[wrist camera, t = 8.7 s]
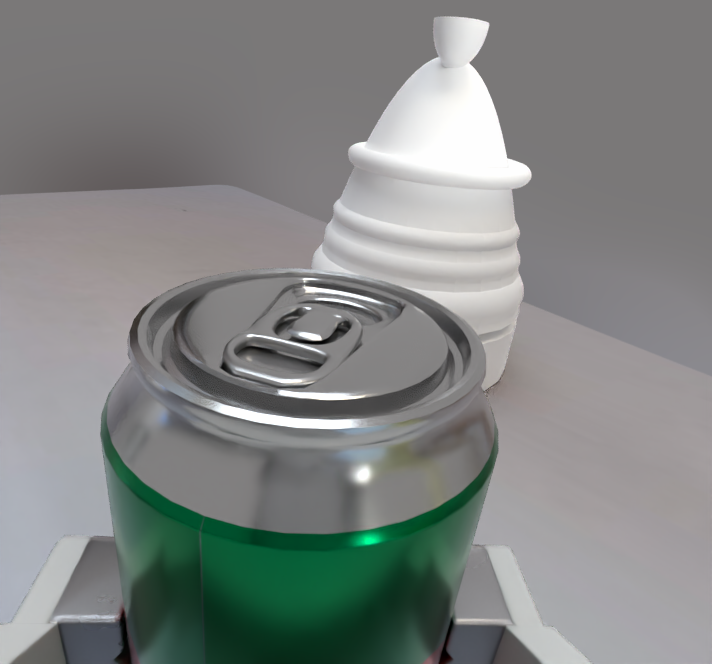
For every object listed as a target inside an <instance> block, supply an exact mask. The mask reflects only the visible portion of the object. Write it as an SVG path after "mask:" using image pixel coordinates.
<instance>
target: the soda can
mask: <svg viewBox="0 0 712 664" xmlns="http://www.w3.org/2000/svg"><path fill="white" fill-rule="evenodd" d="M128 356H129V359H130V363H129V365H128V366H127V368H126V369H125V371H124V372H123V374H122V375H121V377H120V378H119V380H118V381H117V383H116V384H115V386H114V387H113V389H112V390H111V392H110V393H109V395H108V398H107V400H106V403H105V406H104V409H103V412H102V417H101V433H100V436H101V443H102V451H103V458H104V465H105V473H106V480H107V488H108V495H109V502H110V510H111V517H112V525H113V532H114V539H115V547H116V554H117V562H118V569H119V576H120V584H121V591H122V598H123V606H124V613H125V621H126V628H127V635H128V643H129V650H130V658H131V664H438V663H439V659H440V656H441V652H442V649H443V645H444V642H445V638H446V635H447V631H448V628H449V624H450V621H451V617H452V613H453V610H454V606H455V603H456V599H457V596H458V592H459V589H460V585H461V582H462V578H463V575H464V571H465V568H466V564H467V561H468V557H469V553H470V550H471V546H472V543H473V539H474V536H475V532H476V529H477V525H478V522H479V518H480V515H481V511H482V508H483V504H484V501H485V497H486V493H487V490H488V486H489V483H490V479H491V476H492V472H493V469H494V465H495V461H496V458H497V454H498V429H497V426H496V422H495V418H494V415H493V412H492V410H491V407H490V405H489V403H488V401H487V398H486V396H485V394H484V392H483V389H482V387H481V386H482V383H483V381H484V378H485V376H486V354H485V350H484V347H483V344H482V341H481V340H480V338H479V337H478V335H477V334H476V332H475V330H474V329H473V328H472V327H471V326H470V325H469V324H468V323H467V322H466V321H465V320H464V319H462V318H461V317H460V316H459V315H457V314H456V313H455V312H453V311H452V310H450V309H449V308H447V307H445V306H444V305H442V304H440V303H439V302H437V301H435V300H433V299H431V298H428V297H426V296H424V295H422V294H420V293H417V292H415V291H412V290H409V289H407V288H404V287H401V286H398V285H395V284H391V283H388V282H385V281H381V280H377V279H373V278H369V277H365V276H359V275H354V274H348V273H342V272H335V271H327V270H315V269H298V268H273V269H255V270H244V271H237V272H230V273H223V274H218V275H214V276H209V277H205V278H201V279H198V280H195V281H191V282H188V283H185V284H183V285H180V286H178V287H175V288H173V289H171V290H168V291H167V292H165V293H163V294H162V295H160V296H158V297H156V298H155V299H153V300H152V301H151V302H150V303H149V304H147V305H146V306H145V307H144V308H143V309H142V310H141V311H140V312H139V314H138V315H137V316H136V318H135V319H134V321H133V324H132V327H131V329H130V332H129V336H128Z"/></svg>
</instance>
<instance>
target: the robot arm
mask: <svg viewBox="0 0 712 664" xmlns="http://www.w3.org/2000/svg"><path fill="white" fill-rule="evenodd" d="M0 664H131V658H130V650H129V643H128V635H127V628H126V621H125V613H124V606H123V598H122V591H121V584H120V576H119V569H118V562H117V554H116V547H115V539H114V537H106V536H77V535H64V536H63V537H62V538H61V539H60V540H59V541H58V542H57V543H56V544H55V546H54V547H53V549H52V551H51V553H50V554H49V556H48V558H47V560H46V561H45V563H44V565H43V567H42V568H41V570H40V572H39V574H38V575H37V577H36V579H35V581H34V582H33V584H32V586H31V588H30V589H29V591H28V593H27V595H26V596H25V598H24V600H23V602H22V603H21V605H20V607H19V609H18V610H17V612H16V614H15V616H14V617H13V619H12V621H11V622H10V623H0ZM438 664H593V663H592V662H591V661H590V660H589V659H588V658H587V657H586V656H584V655H583V654H582V653H581V652H580V651H579V650H578V649H577V648H576V647H575V646H574V645H572V644H571V643H570V642H569V641H568V640H567V639H566V638H565V637H564V636H563V635H562V634H560V633H559V632H558V631H557V630H556V629H555V628H554V627H553V626H544V624H543V621H542V619H541V617H540V614H539V612H538V610H537V607H536V605H535V603H534V600H533V598H532V596H531V593H530V591H529V589H528V586H527V584H526V582H525V579H524V577H523V574H522V572H521V570H520V567H519V565H518V563H517V560H516V558H515V556H514V553H513V551H512V549H511V548H510V547H509V546H503V545H472V546H471V550H470V553H469V557H468V561H467V564H466V568H465V571H464V575H463V578H462V582H461V585H460V589H459V592H458V596H457V599H456V603H455V606H454V610H453V613H452V617H451V621H450V624H449V628H448V631H447V635H446V638H445V642H444V645H443V649H442V652H441V656H440V659H439V663H438Z"/></svg>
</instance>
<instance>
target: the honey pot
mask: <svg viewBox="0 0 712 664" xmlns="http://www.w3.org/2000/svg"><path fill="white" fill-rule="evenodd" d="M488 27H489V23H488V22H485V21H481V20H477V19H471V18H462V17H435V18H434V25H433V37H434V44H435V48H436V51H437V54H438V56H439V57H438V58H435V59H433V60H431V61H429V62H427V63H426V64H424V65H423V66H422V67H421V68H419V69H418V70H417V71H416V72H415V73H414V74H413V75H412V76H411V77H410V78H409V79H408V80H407V81H406V82H405V84H404V85H403V86H402V87H401V88H400V90H399V91H398V92H397V94H396V95H395V97H394V98H393V99H392V101H391V102H390V103H389V105H388V107H387V108H386V110H385V111H384V113H383V114H382V116H381V118H380V120H379V121H378V123H377V124H376V126H375V128H374V130H373V131H372V133H371V135H370V137H369V139H368V141H367V142H360V143H356V144H354V145H352V146H351V147H350V148H349V151H348V157H349V159H350V161H351V163H352V164H353V165H354V166H355V167H354V169H353V171H352V173H351V175H350V178H349V180H348V182H347V184H346V187H345V189H344V191H343V194H342V196H341V198H340V199H338V200H337V201H336V202H335V203H334V206H333V211H334V215H333V218H332V220H331V222H330V223H329V224H328V225H327V226H326V229H325V232H324V237H325V238H324V241H323V243H322V244H321V245H320V247H319V248H318V249H317V250H316V251H315V253H314V255H313V259H312V262H311V269H315V270H327V271H335V272H342V273H348V274H354V275H359V276H365V277H369V278H373V279H377V280H381V281H385V282H388V283H391V284H395V285H398V286H401V287H404V288H407V289H409V290H412V291H415V292H417V293H420V294H422V295H424V296H426V297H428V298H431V299H433V300H435V301H437V302H439V303H440V304H442V305H444V306H445V307H447V308H449V309H450V310H452V311H453V312H455V313H456V314H457V315H459V316H460V317H461V318H462V319H464V320H465V321H466V322H467V323H468V324H469V325H470V326H471V327H472V328H473V329H474V330H475V332H476V334H477V335H478V337H479V338H480V340H481V341H482V344H483V347H484V350H485V354H486V376H485V378H484V381H483V383H482V386H481V387H482V389H483V391H485V390H487V389H488V388H489V387H491V386H492V385H494V384H495V383H496V382H498V381H499V379H500V377H501V375H502V373H503V371H504V368H505V365H506V361H507V357H508V353H509V349H510V346H511V342H512V338H513V334H514V331H515V327H516V323H517V322H516V318H517V316H518V314H519V305H520V303H521V301H522V299H523V292H524V286H523V283H522V280H521V277H520V275H519V272H518V267H519V265H520V255H519V252H518V249H517V240H518V238H519V236H520V231H519V228H518V226H517V223H516V222H515V216H514V206H513V197H512V189H516V188H520V187H522V186H524V185H525V184H527V183H528V182H529V181H530V179H531V171H530V169H529V168H528V167H527V166H526V165H525V164H522V163H520V162H517V161H514V160H510V159H507V156H506V151H505V145H504V141H503V136H502V132H501V128H500V125H499V121H498V117H497V114H496V111H495V108H494V105H493V102H492V100H491V97H490V95H489V92H488V90H487V88H486V86H485V84H484V82H483V81H482V78H481V77H480V75H479V74H478V73H477V71H476V70H475V69H474V68H473V67H472V66H471V65H470V64H469V62H470V61H471V60H472V59H473V58H474V57H475V56H476V54H477V53H478V52H479V50H480V48H481V47H482V45H483V43H484V40H485V38H486V34H487V32H488Z"/></svg>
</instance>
